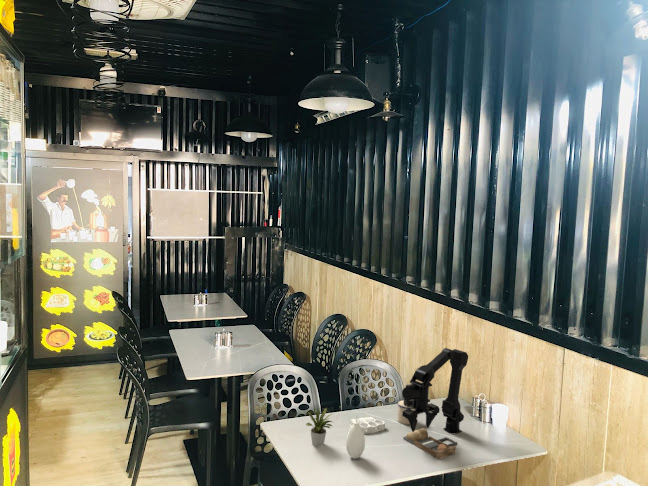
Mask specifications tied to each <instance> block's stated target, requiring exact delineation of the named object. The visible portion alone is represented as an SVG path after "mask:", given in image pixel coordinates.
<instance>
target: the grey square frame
mask: <svg viewBox="0 0 648 486" xmlns="http://www.w3.org/2000/svg"><path fill="white" fill-rule="evenodd" d="M437 440H438V441H440V442H442V443H444V444H446V445H448V446H450V447H451V446H455V445H458V442H457V441H455V440H453V439H451V438H449V437H447V436H445V437H443V438H438V439H437ZM445 441H448V442H450V443H449V444H447V443H445Z"/></svg>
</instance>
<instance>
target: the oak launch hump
mask: <svg viewBox="0 0 648 486" xmlns="http://www.w3.org/2000/svg"><path fill="white" fill-rule="evenodd" d="M406 436H407V439H409V440H411V441H413V442H414V441H415V440H416V441H419V440H422V439H426V438H428V437H429V432H428V430H427V428H424V427H423V428H419V429H415V431H414V432H412V431H410V432H409V431H408V432H407V434H406Z"/></svg>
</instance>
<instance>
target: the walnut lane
mask: <svg viewBox="0 0 648 486" xmlns="http://www.w3.org/2000/svg"><path fill="white" fill-rule="evenodd" d="M428 439H430V440H432V441H434V442H436V443H438V444H444V443H445V442H443V441H441V442H440V441H438V439H436V438H434V437H432V436H431V435H428ZM442 442H443V443H442ZM446 444H447V443H445V444H444V445H446ZM418 445H419V446H418ZM414 446H415V447H417V448H418V449H420V448H421V449H420V450H422V451H424V452H426V453H427V454H430V455H431V456H433V457H434V458H436V459H437V460H440V459H444V458H447V457H449V456H453V455H455V454H456V449H457V448H456V446H455V445H453V446H448V444H447V445H446V447H447V448H445V449H442V450H439V451H438V450H437V451H435V450H434V449H430V448H428V447H427V446H425V445H423V444H421V443H419V442H417V441H416V440H415V441H414Z"/></svg>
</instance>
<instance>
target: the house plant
mask: <svg viewBox="0 0 648 486" xmlns="http://www.w3.org/2000/svg"><path fill="white" fill-rule="evenodd" d="M327 409H328V408H327V407H326V408H325V409H324V410H323V411H322V412H321V413H320V410H321V408H319V409H318V411H317V410H316V409H315V410H314V411H315V416H314V415H313V414H312V413H313V411H312V410H310V412H309V411H308V412H307V413H305V412H303V413H302V414H303V415H304V414H305V415H308V416H309V417H310V419H311V421H312V422H313V424H314V425H313V424H312V423H310V422H307V423H305V425H306V427H312V428H310V437H311V445H312V446H314V447H315V448H317V447H319V448H320V447H323V446H324V443H325V439H326V435H327V430H326V429H331V427H333V425H332V424H330V423H333V421H332V420H329V419H330V418H329V417H330V416H331V415H333V413H331V414H330V413H329V415H327V416H326V417H325V415H326V413H327V411H328V410H327Z"/></svg>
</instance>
